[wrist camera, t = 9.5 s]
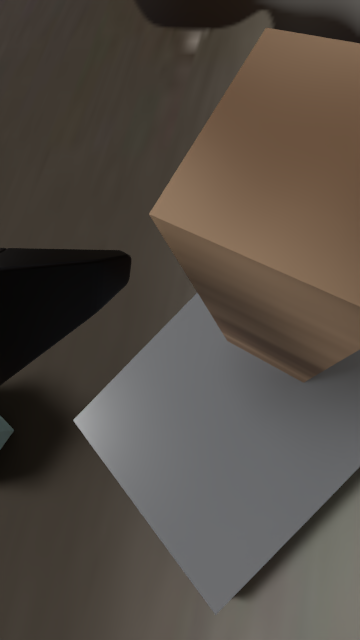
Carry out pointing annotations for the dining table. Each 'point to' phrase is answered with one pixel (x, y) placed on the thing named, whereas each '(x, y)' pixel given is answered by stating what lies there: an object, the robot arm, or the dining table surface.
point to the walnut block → (277, 205)
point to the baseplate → (223, 447)
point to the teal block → (4, 431)
